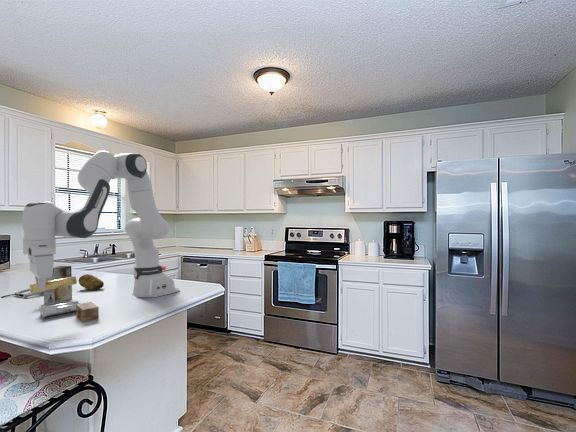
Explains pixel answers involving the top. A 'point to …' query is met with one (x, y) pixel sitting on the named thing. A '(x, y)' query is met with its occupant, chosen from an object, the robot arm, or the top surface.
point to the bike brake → (23, 292)
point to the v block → (58, 310)
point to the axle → (54, 284)
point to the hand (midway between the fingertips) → (40, 287)
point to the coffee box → (62, 292)
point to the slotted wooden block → (87, 311)
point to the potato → (90, 282)
